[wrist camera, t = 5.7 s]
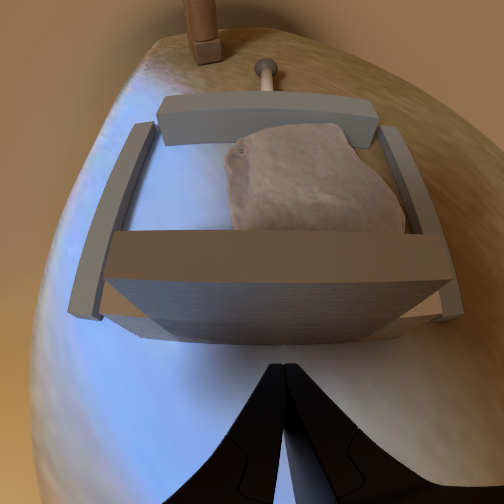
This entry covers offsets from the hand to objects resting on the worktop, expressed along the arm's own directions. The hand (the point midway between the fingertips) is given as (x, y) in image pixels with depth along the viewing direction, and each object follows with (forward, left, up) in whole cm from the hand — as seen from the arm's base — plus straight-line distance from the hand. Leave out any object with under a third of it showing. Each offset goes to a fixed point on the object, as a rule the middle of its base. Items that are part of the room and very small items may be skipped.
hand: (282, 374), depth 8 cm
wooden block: (+42, +9, -7) cm, 43 cm away
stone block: (+11, -2, -7) cm, 13 cm away
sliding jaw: (+4, 0, -6) cm, 7 cm away
